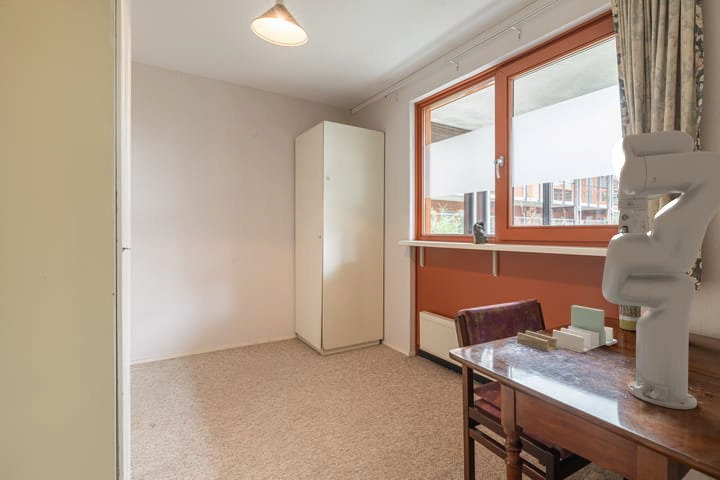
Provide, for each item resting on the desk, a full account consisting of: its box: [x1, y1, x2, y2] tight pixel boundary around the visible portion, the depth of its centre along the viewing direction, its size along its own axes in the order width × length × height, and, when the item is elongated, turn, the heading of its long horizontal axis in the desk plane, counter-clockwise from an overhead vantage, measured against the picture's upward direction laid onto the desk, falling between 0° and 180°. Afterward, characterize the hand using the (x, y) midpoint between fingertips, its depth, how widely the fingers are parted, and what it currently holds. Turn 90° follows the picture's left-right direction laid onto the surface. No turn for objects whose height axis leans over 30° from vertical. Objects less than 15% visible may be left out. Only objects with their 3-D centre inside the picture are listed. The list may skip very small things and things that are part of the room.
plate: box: [570, 304, 605, 346], centre depth 121 cm, size 2×10×12 cm, turn 30°
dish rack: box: [552, 325, 618, 354], centre depth 120 cm, size 25×11×6 cm, turn 120°
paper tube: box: [619, 305, 642, 332], centre depth 138 cm, size 7×7×25 cm
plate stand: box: [516, 330, 560, 352], centre depth 118 cm, size 7×12×4 cm, turn 30°
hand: (631, 258), depth 108 cm, fingers open, 9 cm apart
